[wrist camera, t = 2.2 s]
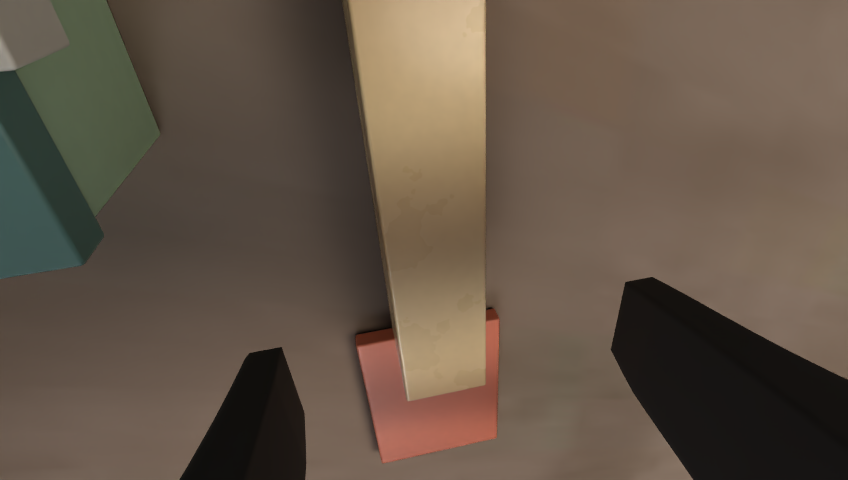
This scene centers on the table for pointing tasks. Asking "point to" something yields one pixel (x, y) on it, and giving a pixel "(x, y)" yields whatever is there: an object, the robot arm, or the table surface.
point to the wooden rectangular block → (427, 221)
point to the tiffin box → (63, 129)
